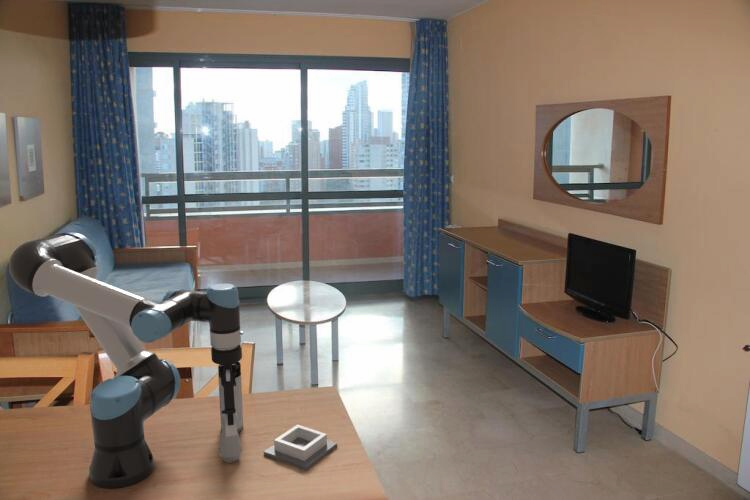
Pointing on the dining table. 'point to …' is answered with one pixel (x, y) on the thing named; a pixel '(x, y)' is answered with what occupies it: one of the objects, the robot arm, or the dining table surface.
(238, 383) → the travel mug
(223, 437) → the grey bulb peg
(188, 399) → the dining table surface
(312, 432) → the socket
